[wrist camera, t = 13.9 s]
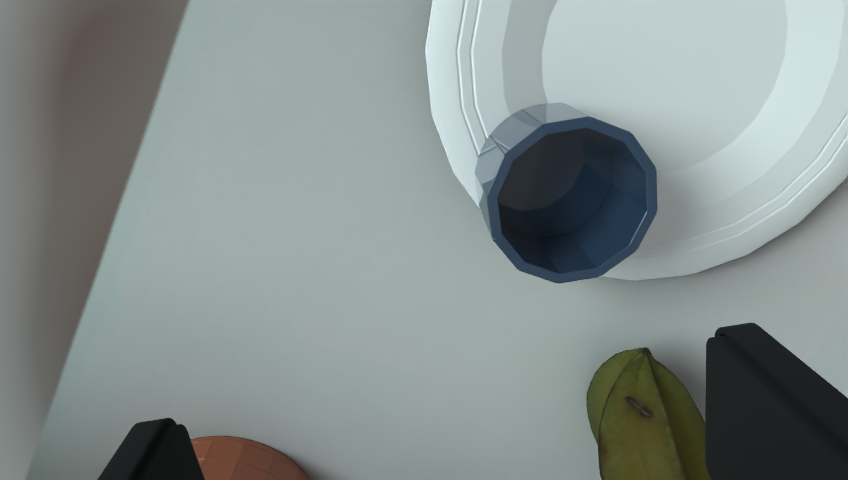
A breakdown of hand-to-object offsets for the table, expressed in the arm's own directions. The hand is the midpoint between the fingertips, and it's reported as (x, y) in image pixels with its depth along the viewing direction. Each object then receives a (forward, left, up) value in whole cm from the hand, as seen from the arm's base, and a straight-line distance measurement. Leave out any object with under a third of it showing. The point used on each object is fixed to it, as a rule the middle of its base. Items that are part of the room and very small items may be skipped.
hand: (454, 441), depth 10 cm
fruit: (+11, -20, -24) cm, 33 cm away
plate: (+13, +3, -24) cm, 28 cm away
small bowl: (+6, -2, -22) cm, 23 cm away
